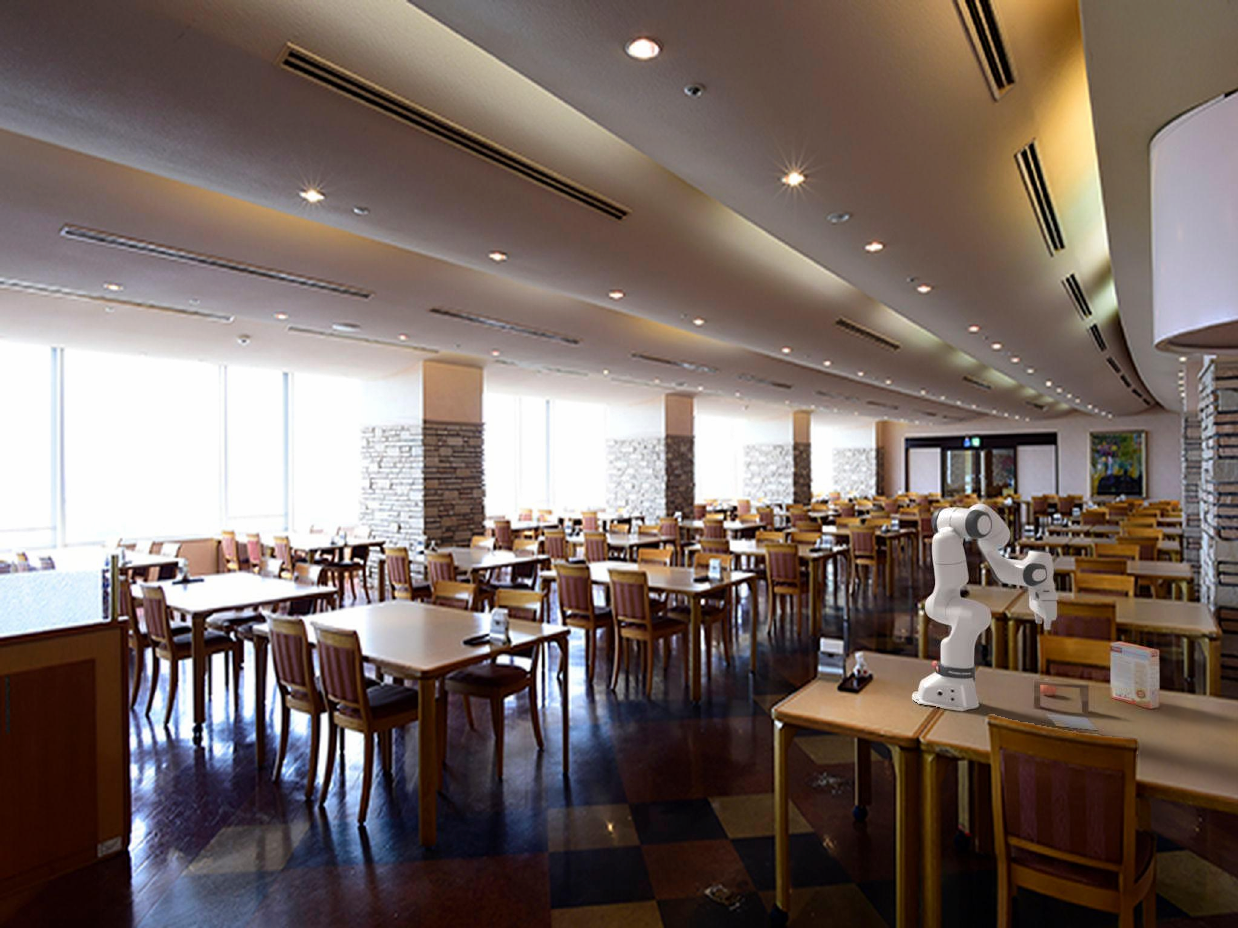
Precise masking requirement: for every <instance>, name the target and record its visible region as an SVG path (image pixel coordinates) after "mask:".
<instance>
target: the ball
mask: <svg viewBox="0 0 1238 928" xmlns="http://www.w3.org/2000/svg"><path fill="white" fill-rule="evenodd" d="M1043 680H1050V678H1049V679H1048V678H1044V679H1043ZM1057 692H1058V686H1048V685H1040V693H1041V694H1043V695H1045V696H1048V697H1050V696H1054V695H1055V694H1057Z"/></svg>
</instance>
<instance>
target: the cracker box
mask: <svg viewBox="0 0 1238 928" xmlns="http://www.w3.org/2000/svg"><path fill="white" fill-rule="evenodd" d="M1110 698H1111V699H1114V700H1116V701H1117V700H1118V701H1121V702H1124V703H1128V704H1130V705H1135V706H1139V707H1142V708H1145V709H1147V708H1148V709H1147V710H1151V709H1156V708H1157V709H1158V708H1160V650H1159V649H1156V648H1152V647H1151V648H1150V647H1147V646H1142V645H1137V644H1132V643H1129V642H1124V641H1116V642H1110Z"/></svg>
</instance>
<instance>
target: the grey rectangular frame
mask: <svg viewBox="0 0 1238 928" xmlns="http://www.w3.org/2000/svg"><path fill="white" fill-rule="evenodd" d="M1040 685H1048V686H1057V687H1062V688H1072V689H1073V688H1074V689H1079V694H1078V695H1079V697H1078V698H1079V700H1078V701H1079V711H1080V712H1081V713H1084V714H1085V713H1086V714H1089V713H1090V712H1089V710H1090V709H1089V707H1090V706H1089V699H1090V698H1089V695H1090V694H1089V689H1090V688H1089V685H1088V683H1087V682H1077V681H1065V680H1055V679H1054V680H1053V679H1049V680H1044V679H1043V678H1042V679H1041V678H1031V706H1032V707H1033V708H1034V709H1041V691H1040Z"/></svg>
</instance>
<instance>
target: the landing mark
mask: <svg viewBox="0 0 1238 928" xmlns="http://www.w3.org/2000/svg"><path fill="white" fill-rule="evenodd" d="M1046 716H1047V717H1048V718H1049V720H1050V719H1051V720H1053V719H1054V720H1062V721H1051V720H1050V721H1051V722H1052V723H1053V722H1062V723H1065V724H1064V725H1069V728H1068V729H1073V728H1078V729H1077V730H1081V729H1080V727H1075V726H1086V727H1081V728H1095V730H1098V728H1096V727H1095V726H1094V725H1093V723H1092V722H1091V721H1090V720H1089V719H1088V718H1087V717H1082V716H1081V717H1080V716H1071V715H1059V714H1049V713H1046ZM1090 726H1094V727H1090ZM1088 731H1094V729H1089V730H1088Z"/></svg>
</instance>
